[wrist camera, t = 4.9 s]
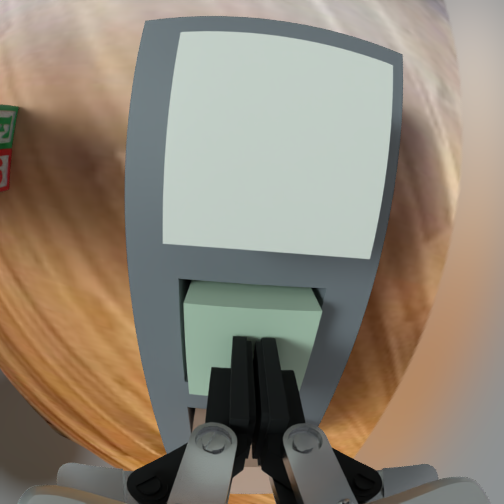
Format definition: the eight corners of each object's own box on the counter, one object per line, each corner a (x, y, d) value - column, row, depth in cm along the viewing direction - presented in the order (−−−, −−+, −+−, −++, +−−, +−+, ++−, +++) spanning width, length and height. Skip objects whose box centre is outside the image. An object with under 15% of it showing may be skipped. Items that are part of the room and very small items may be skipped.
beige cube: (197, 392, 14) (188, 462, 10) (280, 396, 15) (291, 465, 10) (200, 433, 16) (195, 490, 11) (269, 436, 16) (275, 493, 12)
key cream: (206, 83, 9) (180, 32, 4) (331, 97, 9) (392, 65, 5) (196, 204, 11) (162, 243, 6) (318, 214, 11) (369, 259, 6)
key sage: (201, 253, 14) (183, 303, 9) (297, 260, 14) (322, 311, 10) (201, 331, 16) (189, 393, 11) (283, 336, 16) (297, 398, 11)
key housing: (174, 58, 11) (140, 14, 6) (356, 79, 12) (409, 50, 7) (177, 412, 20) (167, 464, 15) (290, 418, 21) (299, 469, 16)
